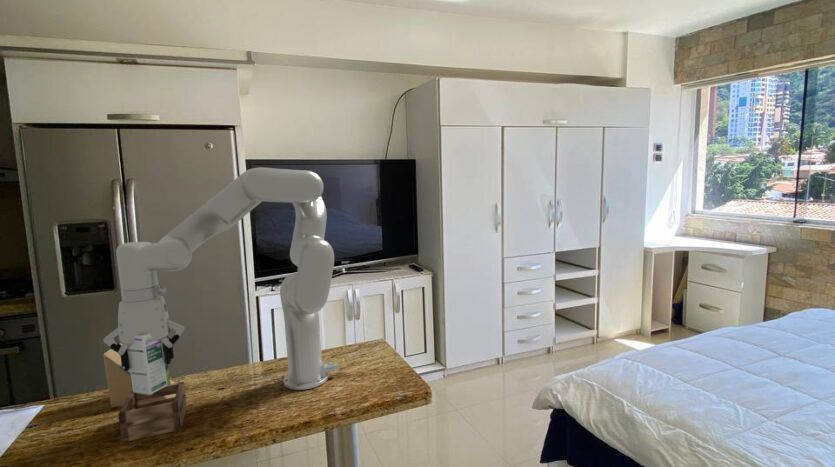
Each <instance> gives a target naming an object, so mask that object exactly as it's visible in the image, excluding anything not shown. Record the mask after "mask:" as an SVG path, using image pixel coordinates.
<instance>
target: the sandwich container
mask: <svg viewBox="0 0 835 467" xmlns="http://www.w3.org/2000/svg"><path fill="white" fill-rule="evenodd" d="M119 344H120V345H123V344H121V343H120V342H119ZM102 355H103V356H102V357H103V361H104V362H103V363H104V370H105V377H106V384H107V390H108V396H109V398H108V399H109V402H110V407H111V408H115V407H117V408H118V407H122V406H123V405H124V403H125V401H126V399H127V397H128V395H129V393H130V392H131V391H133V387H132V379H131V372H130V369H129V370H128V371H125V367H122V364H121V356H120V355H119V354H118V353H117V352H116V351H114V350H112V349H111V348H110V349H109V350H107V351H105V352H104V353H103V354H102ZM170 383H171V384H174V383H176V381H174V380H173V379H171V378H170ZM175 396H176V394H172V395H166V396H161V397H156V398H151V399H146V400H140V401H138V403H139V404H140V403H145V402H150V401H156V400H161V399H166V398H171V397H175Z"/></svg>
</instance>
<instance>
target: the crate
mask: <svg viewBox="0 0 835 467" xmlns="http://www.w3.org/2000/svg"><path fill="white" fill-rule="evenodd" d="M172 394H176V396H175V397H171V398H166V399H161V400H156V401H150V402H145V403H140V404H139V403H138V401H140V400H146V399H151V398H156V397H161V396H166V395H172ZM187 408H188V406H187V395H186V388H185V381H180V382H175V383H174V384H170V385H168V386H166V387H164V388H162V389H160V390H159V391H157V392H155V393H153V394H152V395H146V394H140V393H135V392H133V391H131V392H130V393H129V395H128V397H127V399H126V401H125V403H124V405H123V406H121V408H120V410H119V412H118V422H119V430H120V438H121V443H126V442H131V441H135V440H141V439H145V438H149V437H153V436H154V437H155V436H157V435H162V434H167V433H171V432H177V431H181V430H182V427H183V423H184V420H185V419H184V418H185V415H186V411H187Z"/></svg>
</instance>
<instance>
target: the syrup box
mask: <svg viewBox="0 0 835 467" xmlns="http://www.w3.org/2000/svg"><path fill="white" fill-rule="evenodd" d="M165 348H166V345H165V344H164V343H163V342H162V341H161V340H157V341H155V340H153V338H152V336H151V334H141V335H136V337H135V343H134V344H129V346H128V347H127V351H128V358H129V365H130V372H131V379H132V387H133V392H135V393H140V394H146V395H152V394H153V393H155V392H157V391H159V390H160V389H162V388H164V387H166V386H168V385H170V384H171V383H170V379H171V377H170V369H169V364H166V356H165Z"/></svg>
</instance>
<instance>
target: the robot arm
mask: <svg viewBox="0 0 835 467" xmlns="http://www.w3.org/2000/svg"><path fill="white" fill-rule="evenodd" d="M324 187H325V186H324V182H323V179H322V178H321V177H320V175H319V174H318V173H316V172H314V171H312V170H304V169H302V170H301V169H289V168H273V167H261V166H260V167H259V166H257V167H254V168H249V169H247V170H246V171H243V173H241V174H240V175H238V177H236V178H235V179H234V180H232V181H231V182H230V183H229V184H228V185H227V186H225V187H224V188H223V189H222V190H220V191H219V192H218V193H217V194H215V195H214V196H213V197H212V198H211V199H209V200H208V201H207V202H206V203H204V204H203V205H202V206H200V207H199V208H198V209H197V210H196V211H194V212H193V213H192V214H190V215H189V216H188V217H187V218H185V219H184V220H183V221H181V222H180V223H179V224H178V225H177V226H175V227H174V228H173V229H171V231H169V232H168V233H167V234H165V235H164V236H163V237H162V238H160V240H159V241H158V242H154V243H152V242H149V241H132V242H125V243H122V244H120V245H118V246H117V247H116V250H115V252H116V253H115V254H116V260H117V261H116V262H117V270H118V279H119V287H120V294H121V301H119V304H118V313H117V328H116V329H114V330H113V331H112V332H110V333H109V334H108V335H106V336H105V337H104V338H103V339H102V340H103V343H104V344H105V345H107V346H108V347H109V348H110V349H112V350H114V351H116V352H117V353H118V354H119V355H120V356H121V364H122V367H125V371H128V370H129V369H130V365H129V358H128V351H127V347H128V346H129V344H134V343H135V337H136V335H141V334H151V336H152V338H153V340H155V341H157V340H161V341H162V342H163V343H164V344H165V345H166V348H165V356H166V364H168V365H171V362H172V360H173V359H174V357H175V353H174V344H175V343H176V342H177V341H178V340H179V339H180V337H181V336H182V335H183V332H184V331H185V326H184V325H181V324H180V323H177V322H175V321H173V320H171V319H170V317H169V316H170V315H169V311H168V307H167V303H166V300H165V297H164V296H162V294H163V293H166V292H167V288H166V286H160V284H159V279H158V272H177V271H180V270H183V269H185V268H187V267H188V266H189V265H190V263H191V261H192V259H193V253H194V251H196V249H197V248H199V247H200V246H202V244H204V243H205V242H207V241H208V240H209V239H211V238H212V237H214V236H217V235H218V234H220V233H223V232H226V231H228V230H230V229H231V228H232V227H234V226H235V225H237V224H238V223H239V222H240V221H241V220H242V219H243V218H244V217H245V216H246V215H248V214H249V213H250V212H251V211H252V210H253V209H255V208H256V207H257V206H258V205H260V204H261V203H262V202H269V203H292V206H293V208H294V210H295V222H294V228H293V233H292V234H293V235H292V241H291V245H290V250H289V258H290V261H291V262H292V264H293V265H295V266H296V267H297V272H292V273H290V274H288V275H287V276H286V277H285V278H284V279H283V280H282V281H281V285H280V288H279V294H280V302H281V307H282V312H283V319H284V320H283V321H284V332H285V344H286V345H285V346H286V358H287V368H288V369H287V370H288V374H286V375H285V376H284V377H283V385H284V387H285V388H288V389H290V390H295V391H301V390H309V389H313V388H317V387H319V386H322V385H323V384H325V383H326V382H327V381H328V380H329V372H331V371H339V370H340V366H339V362H337V363H336V362H335V363H334V362H333V361H329V362H325V361H323V359H322V357H323V356H322V346H321V343H322V342H321V331H320V317H319V312H320V311H321V310H322V309H323V307H324V306H325V305H326V303H327V301H328V298H329V294H330V289H331V283H332V278H333V272H334V266H335V253H334V249H333V247H332V245H331V244H330V243H329V242H328V241H327V240H325V235H326V226H327V215H328V214H327V208H326V207H327V206H326V205H325V204H326V203H325V202H324V199H323V197H322V195H323V192H324ZM171 329H172V330H175V331H176V332H175V334H174V335H173V336H172V337H171V336H170V335H169V333H170V332H171ZM117 336H118V339H119V343H121V344H122V345H120V344H119V343H118V342H116V341H115V339H114V338H116V337H117Z"/></svg>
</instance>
